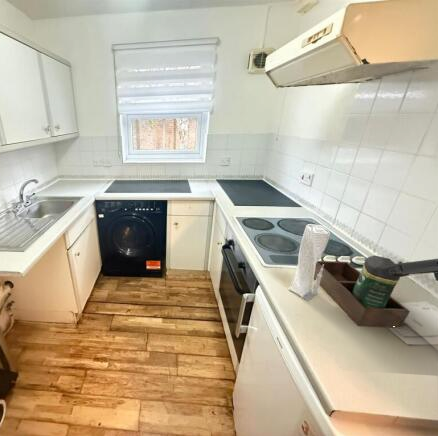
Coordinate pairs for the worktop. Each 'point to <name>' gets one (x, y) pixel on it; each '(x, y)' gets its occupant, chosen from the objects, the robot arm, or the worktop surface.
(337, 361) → the worktop surface
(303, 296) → the skyscraper
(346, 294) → the organiser
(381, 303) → the coffee jar
